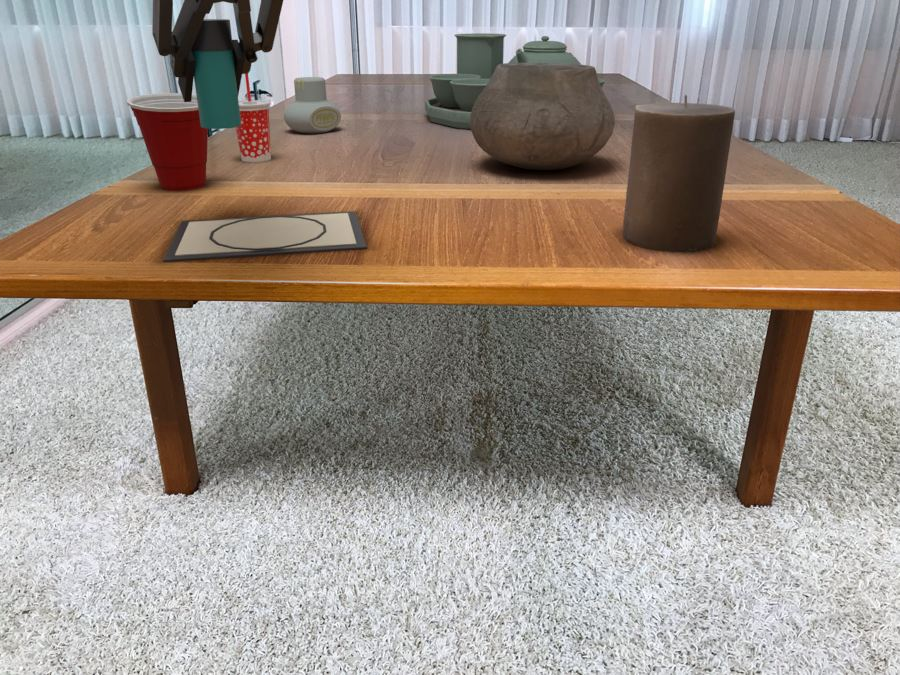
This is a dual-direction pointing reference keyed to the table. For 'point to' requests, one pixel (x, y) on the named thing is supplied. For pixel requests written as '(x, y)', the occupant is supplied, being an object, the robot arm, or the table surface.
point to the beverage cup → (254, 129)
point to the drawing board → (265, 236)
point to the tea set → (483, 73)
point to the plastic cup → (173, 138)
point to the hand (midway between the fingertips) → (208, 90)
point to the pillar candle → (677, 175)
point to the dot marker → (216, 75)
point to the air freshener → (311, 108)
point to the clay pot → (542, 115)
